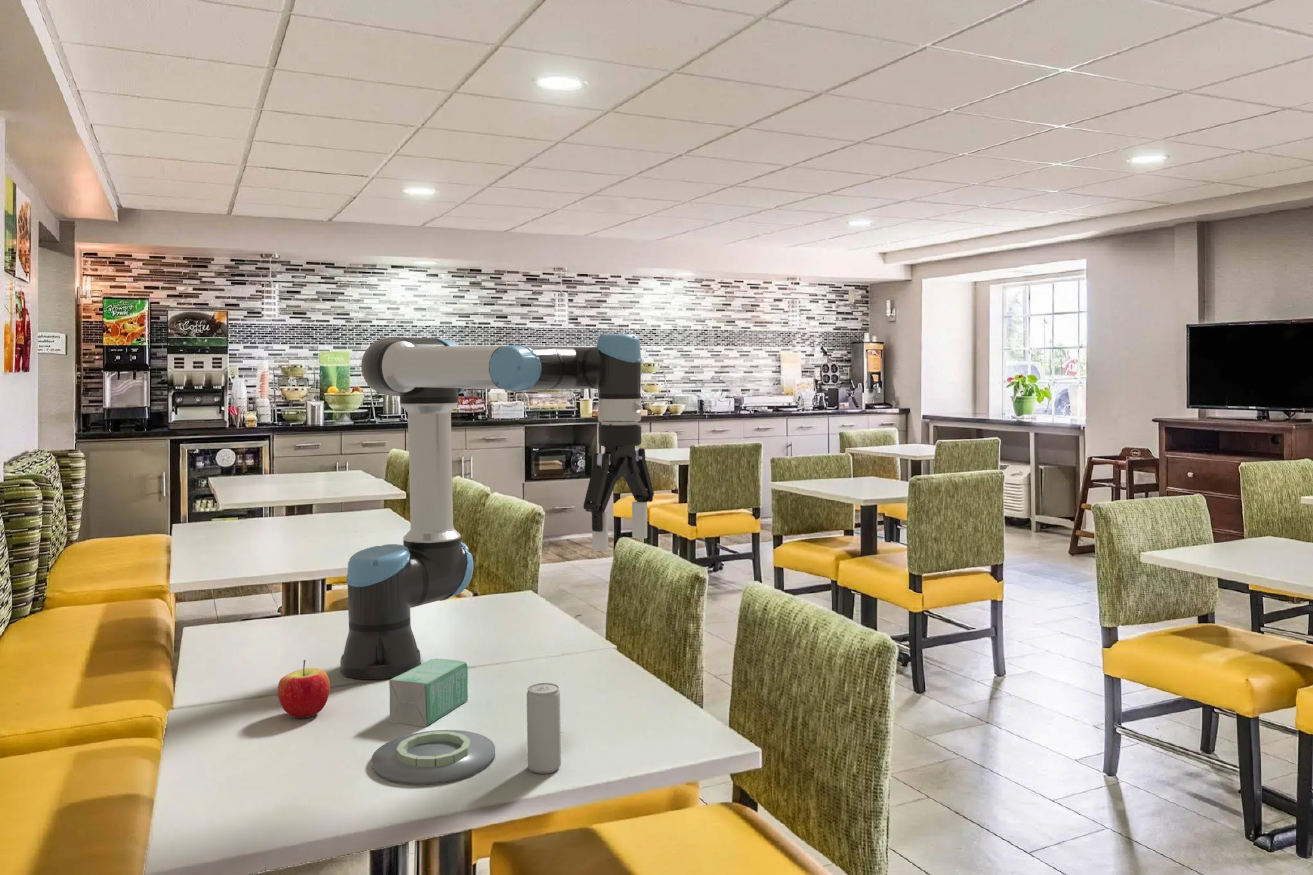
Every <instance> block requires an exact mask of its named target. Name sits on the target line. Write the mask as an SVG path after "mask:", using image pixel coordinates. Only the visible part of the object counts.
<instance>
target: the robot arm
mask: <svg viewBox="0 0 1313 875" xmlns="http://www.w3.org/2000/svg"><path fill="white" fill-rule="evenodd" d="M641 352H642V351H641V341H640V338H639V337H638V336H637V335H635V334H623V333H622V334H620V333H618V334H612V333H611V334H600V335H599V336H598V338H597V344H596V345H595V346H542V345H541V346H540V345H524V344H510V345H458V344H457V343H455V342H454V341H451V340H450V339H449V340H448V339H443V338H438V337H400V336H389V337H384V338H380V339H377V340H375V341H374V342H372V343H371V344H370V345H369V346H368V347H367V348H366V350H365V351H364V353H363V354H362V355H363V356H362V359H361V364H360V369H361V374H362V376H363V379H364V380H365V382H366V384H367V385H368V386H369V388H371V389H373V391H375V392H377V393H379V394H381V395H385V396H391V397H399V405H400V406H401V408H403V409H404V410H405V412H406V413H407V432H408V433H407V435H408V439H407V440H408V473H409V476H408V477H409V479H408V480H409V511H410V512H409V513H410V514H409V515H410V517H409V518H410V519H409V520H410V529H409V531H408V532H407V533H406V534H405V535H404V536H403V539H402V540H403V541H402V542H403V544H397V543H396V544H395V543H391V544H389V543H388V544H382V545H375V546H371V547H367V548H364V549H361V550H359V551H357V552H356V553H354V554H353V555H352V556H350V558H349V560H348V562H347V572H346V573H347V574H346V583H347V608H348V609H347V610H348V612H347V613H348V634H347V637H346V640H345V646H344V650H343V654H342V655H341V657H340V660H339V665H340V666H339V668H340V673H341V675H343V676H344V677H347V678H352V679H359V680H380V679H381V680H383V679H390V678H391V679H392V678H394V677H397V676H399V675H401V674H403V673H405V672H407V671H409V670H411V669H413V668H415V667H417V666H419V665H421V664H422V663H421V661H422V660H421V659H422V658H421V651H420V649H419V648H418V645H417V642H416V638H415V635H414V633H413V629H412V626H411V625H412V624H411V608H415V607H419V606H422V605H423V606H424V605H427V604H430V603H435V602H437V601H438V602H439V601H440V602H442V601H447V600H448V599H451V598H452V597H456V596H457V595H460V594H462V592H463V591H465V589H467V587H468V586H469V585H470V582H471V580H472V578H473V573H474V558H473V555H472V553H471V552H469V550H470V549H469V547H468V546H467V545H466V543H464V542H462V534H461V533H459V531H457V530H456V529H455V527H454V504H453V500H454V499H453V462H452V461H453V459H452V458H453V456H452V450H453V449H452V448H453V447H452V412H453V410H455V408H456V407H457V406H458V405H459V394H461V393H462V392H463V391H465V389H472V390H473V389H476V390H477V389H480V390H481V389H483V390H486V389H487V390H505V391H509V392H523V391H536V390H537V391H539V390H540V391H541V390H546V391H547V390H586V389H587V390H589V389H590V390H592V389H593V390H597V394H598V396H597V399H598V400H597V401H598V402H597V403H598V404H597V405H598V406H597V420H598V422H601V424H599V426H598V433H597V434H598V445H599V446H600V447H603V448H604V452H603V453H600V452H595V453H594V454H593V458H592V460H593V461H592V463H593V465H592V469H591V474H590V478H589V481H588V486H587V490H586V493H585V498H584V502H583V506H582V507H583V510H585V511H586V512H588V513H589V512H590V513H591V529H592V530H591V532H592V533H591V534H592V536H591V537H592V539H591V541H592V544H591V545H592V550H593V551H602V552H607V551H609V512H608V511H606V508H607V506H608V504H609V501H610V499H611V496H612V494H613V491H614V489H615V486H616V484H617V482H618V481H620V479H621V478H624V479H625V482H626V484H627V486H628V488H629V490H630V492H631V494H632V497H633V498H634V501H632V502H631V504H632V505H631V522H632V523H631V532H632V533H631V534H632V536H631V537H632V538H633V539H634V538H637V539H647V538H648V502H650V503H651V502H653V500H654V496H655V495H654V494H655V492H654V487H653V483H652V480H651V476H650V473H649V472H650V471H649V468H648V464H647V461H646V449H645V448H644V447H643V448H642V447H641V448H639V446H640V445H642V426H641V424H639V423H638V422H640V421H641V420H642V409H643V405H642V395H641V391H642V390H641V385H642V384H641V381H642V377H641V375H642V360H643V357H642V354H641Z"/></svg>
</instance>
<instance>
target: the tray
mask: <svg viewBox="0 0 1313 875" xmlns="http://www.w3.org/2000/svg"><path fill="white" fill-rule="evenodd" d="M495 758H496V746H495V743H494V742H493V741H492V740H491V739H490V738H488V737H487V736H485V735H483V734H479V733H476V732H472V731H468V730H458V729H438V730H437V729H436V730H428V731H421V732H415V733H410V734H407V735H403V736H400V737H397V738H395V739H392V740H389V741H388V742H385V743H384V744H382V745H381V746H379V747H378V748H377V749H376V750H375V751H374V752H373V754H372V755H371V770H372V772H373V774H375V775H376V776H377V777H378V778H380V779H383V780H385V781H387V782H391V783H395V784H399V785H400V784H401V785H407V786H408V785H410V786H429V785H430V786H431V785H439V784H446V783H450V782H451V783H452V782H456V781H460V780H464V779H467V778H469V777H472V776H474V775H476V774H479V773H480V772H483V770H486V769H487V768H489V766H490V765H492V764H493V762H494V760H495Z"/></svg>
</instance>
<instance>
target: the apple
mask: <svg viewBox="0 0 1313 875" xmlns="http://www.w3.org/2000/svg"><path fill="white" fill-rule="evenodd" d="M302 664H303V666H302V668H301V669H298V670H296V671H293V672H290V673H288V674H286V675H284V676H282V677H281V678H280V680H279V682H278V685H277V697H278V701H279V703H280V705H281V708H282V709H283V710H284V712H285V713H286V714H288V715H289V716H291V717H294V718H299V719H305V718H309V717H313V716H314V715H317V714H318V713H320V712H321V711H322V710H323V709H324V707H325V705H326V704H327V701H329V700H328V699H329V697H330V696H329V695H330V690H331V685H330V684H331V683H330V678H329V676H328V673H327V672H326V671H325V670H323V669H321V668H315V667H309V668H308V667H307V668H306V667H305V665H306V659H303V663H302Z"/></svg>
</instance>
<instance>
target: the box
mask: <svg viewBox="0 0 1313 875" xmlns="http://www.w3.org/2000/svg"><path fill="white" fill-rule="evenodd" d="M468 674H469V673H468V663H467V662H466V661H462V660H455V659H445V658H432V659H430V660H429V659H428V660H427V661H425V662H424V663H421V665H419V666H417V667H415V668H413V669H411V670H409V671H407V672H405V673H403V674H401V675H399V676H396V677H391V679H390V678H389V680H388V682H389V683H388V685H389V686H388V688H389V721H390V722H391V723H392V724H399V725H405V726H406V725H407V726H413V727H419V728H420V727H421V728H425V727H428V726H429V725H430V724H432V723H434V722H435V721H436V722H437V720H439V719H441V718H442V717H444V716H445V715H447V714H449V713H451V712H452V711H454V710H455V709H457V708H458V707H459V708H460V706H462V705H464V704H465V703H467V702H468V701H469V700H468V699H469V698H468V697H469V694H468V692H469V691H468V688H469V687H468V684H469V682H468V681H469V680H468V678H469V676H468Z"/></svg>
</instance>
